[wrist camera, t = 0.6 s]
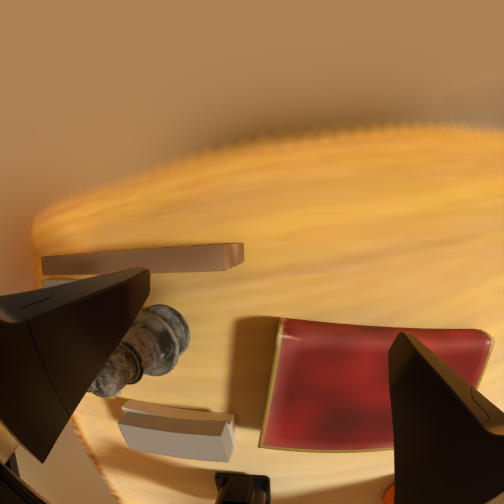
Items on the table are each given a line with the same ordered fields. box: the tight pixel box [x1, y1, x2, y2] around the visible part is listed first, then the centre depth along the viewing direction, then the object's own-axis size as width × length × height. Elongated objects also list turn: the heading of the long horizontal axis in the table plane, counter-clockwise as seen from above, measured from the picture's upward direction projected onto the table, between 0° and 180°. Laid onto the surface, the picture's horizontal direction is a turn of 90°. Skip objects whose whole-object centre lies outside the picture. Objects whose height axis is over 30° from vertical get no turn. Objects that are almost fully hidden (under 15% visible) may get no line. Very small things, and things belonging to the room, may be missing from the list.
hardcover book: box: [258, 317, 495, 453], centre depth 20 cm, size 12×21×4 cm, turn 84°
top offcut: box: [117, 412, 233, 462], centre depth 21 cm, size 4×11×2 cm, turn 98°
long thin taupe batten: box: [41, 243, 244, 275], centre depth 20 cm, size 2×16×7 cm, turn 93°
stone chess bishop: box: [87, 305, 190, 398], centre depth 18 cm, size 6×6×12 cm
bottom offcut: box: [122, 399, 237, 452], centre depth 24 cm, size 4×12×2 cm, turn 93°
